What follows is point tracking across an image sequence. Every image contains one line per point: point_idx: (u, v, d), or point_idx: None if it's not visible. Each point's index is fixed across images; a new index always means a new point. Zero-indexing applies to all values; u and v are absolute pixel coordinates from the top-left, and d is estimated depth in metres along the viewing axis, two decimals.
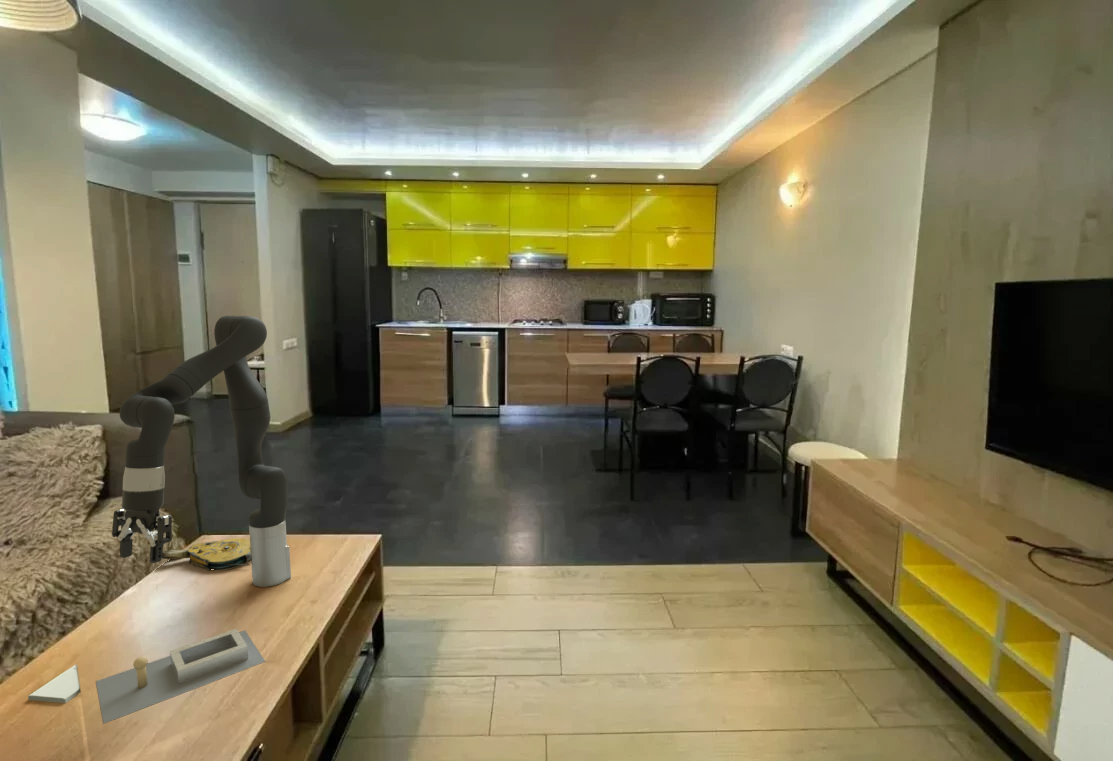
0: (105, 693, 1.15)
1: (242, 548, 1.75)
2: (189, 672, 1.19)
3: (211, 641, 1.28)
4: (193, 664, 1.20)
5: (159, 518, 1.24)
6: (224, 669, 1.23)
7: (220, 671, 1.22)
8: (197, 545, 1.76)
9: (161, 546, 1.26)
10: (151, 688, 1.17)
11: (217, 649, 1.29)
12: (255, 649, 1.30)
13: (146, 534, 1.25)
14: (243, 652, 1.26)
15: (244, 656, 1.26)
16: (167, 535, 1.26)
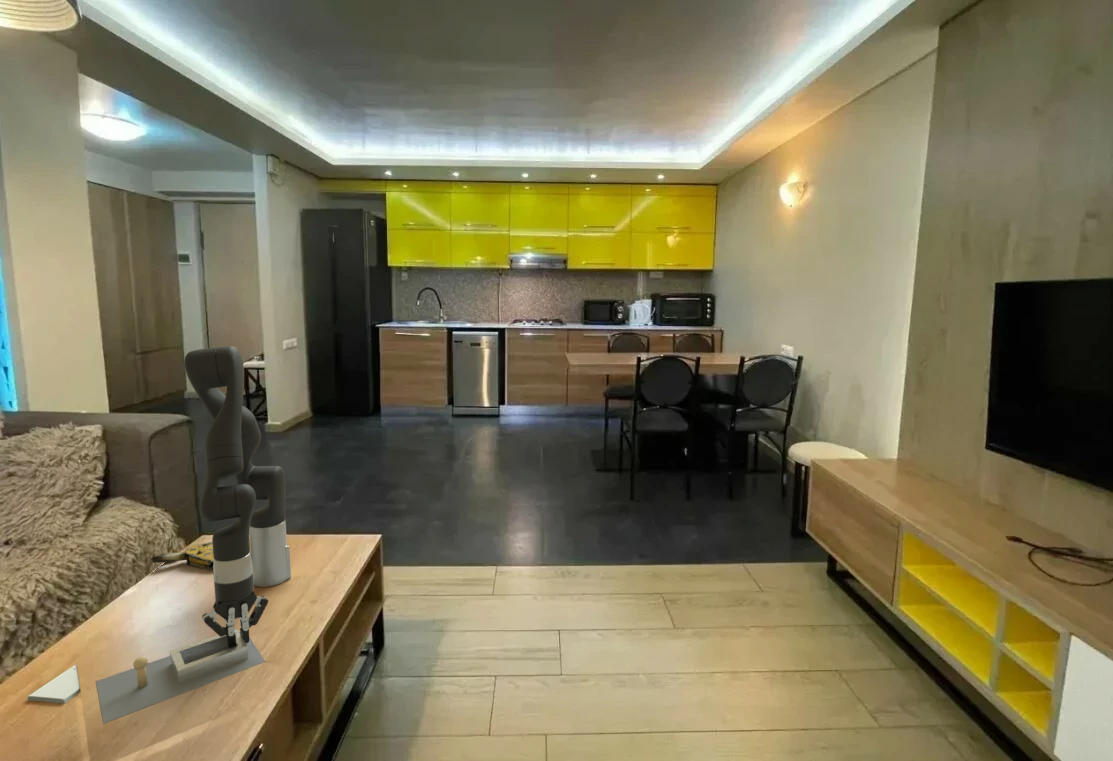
0: (105, 693, 1.15)
1: None
2: (189, 672, 1.19)
3: (211, 641, 1.28)
4: (193, 664, 1.20)
5: (266, 600, 1.31)
6: (224, 669, 1.23)
7: (220, 671, 1.22)
8: (194, 547, 1.75)
9: None
10: (151, 688, 1.17)
11: (217, 649, 1.29)
12: (255, 649, 1.30)
13: (246, 619, 1.28)
14: (243, 652, 1.26)
15: (244, 656, 1.26)
16: (253, 615, 1.31)
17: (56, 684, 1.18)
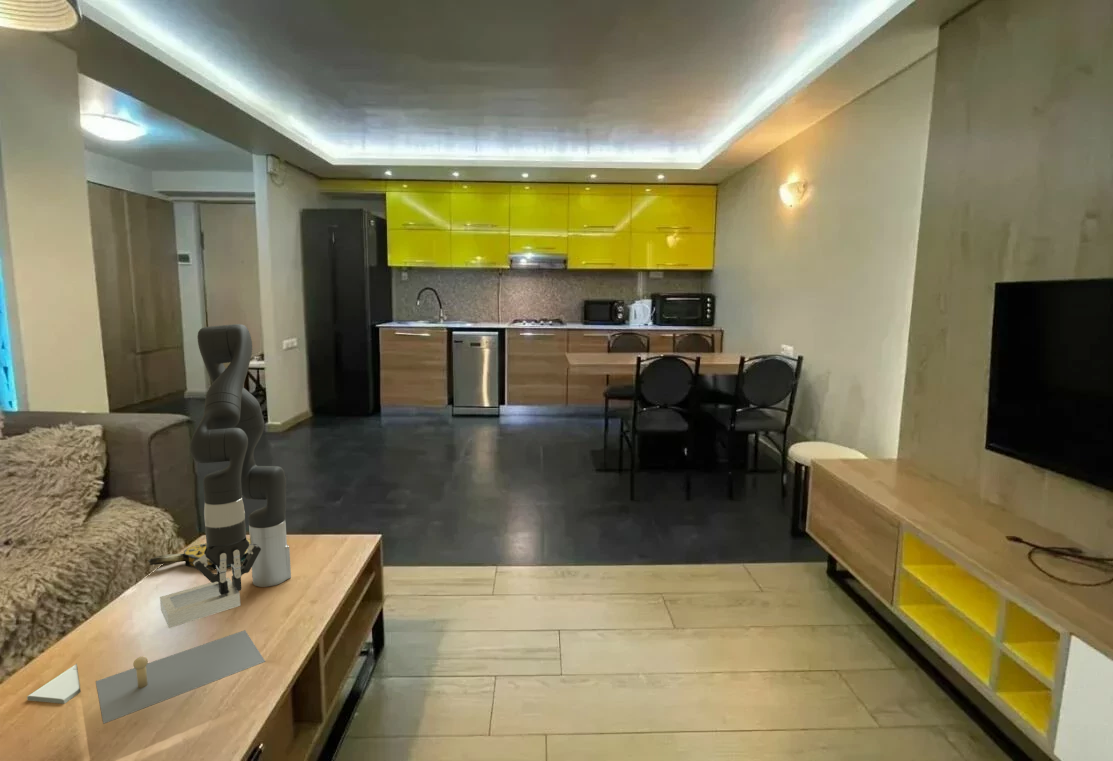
0: (105, 693, 1.15)
1: None
2: (179, 616, 1.17)
3: (202, 588, 1.26)
4: (184, 608, 1.17)
5: (259, 548, 1.29)
6: (224, 669, 1.23)
7: (220, 671, 1.22)
8: (192, 548, 1.74)
9: None
10: (151, 688, 1.17)
11: (208, 597, 1.27)
12: (255, 649, 1.30)
13: (238, 566, 1.26)
14: (235, 598, 1.23)
15: (236, 602, 1.24)
16: (245, 563, 1.29)
17: (56, 684, 1.18)
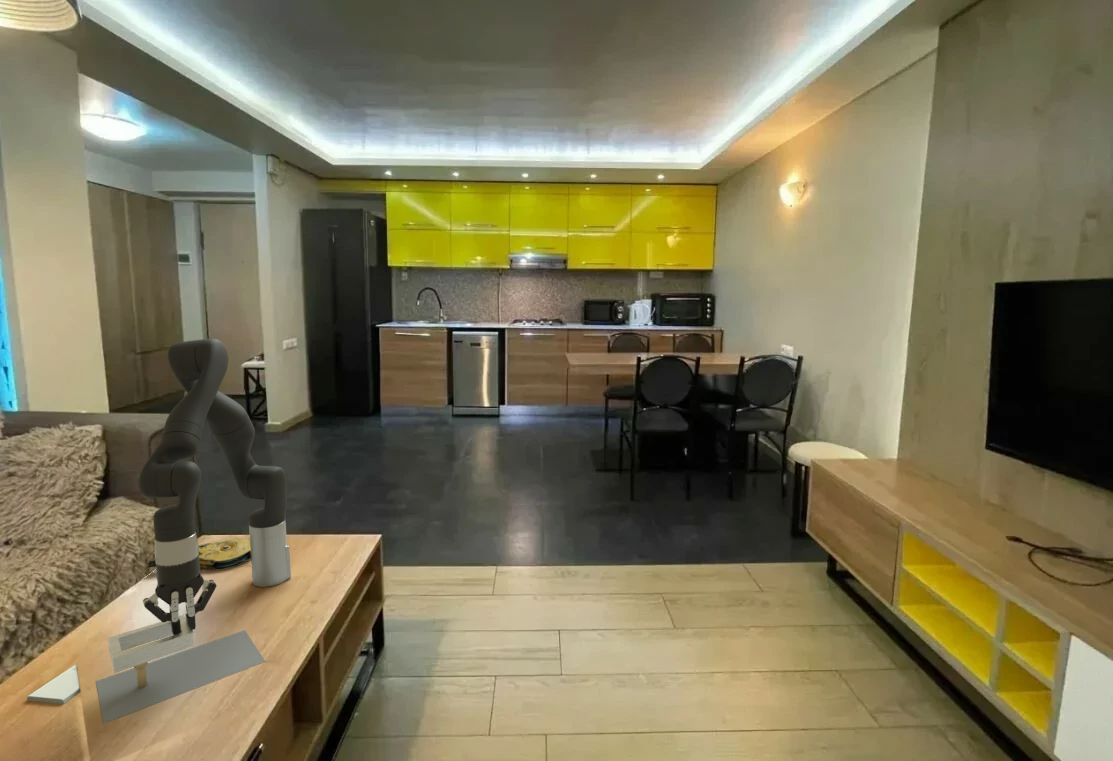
0: (105, 693, 1.15)
1: (243, 545, 1.77)
2: (126, 660, 1.11)
3: (154, 628, 1.20)
4: (131, 651, 1.12)
5: (214, 585, 1.23)
6: (224, 669, 1.23)
7: (220, 671, 1.22)
8: None
9: None
10: (151, 688, 1.17)
11: (161, 636, 1.21)
12: (255, 649, 1.30)
13: (191, 604, 1.20)
14: (187, 639, 1.18)
15: (188, 643, 1.18)
16: (200, 600, 1.24)
17: (55, 684, 1.18)
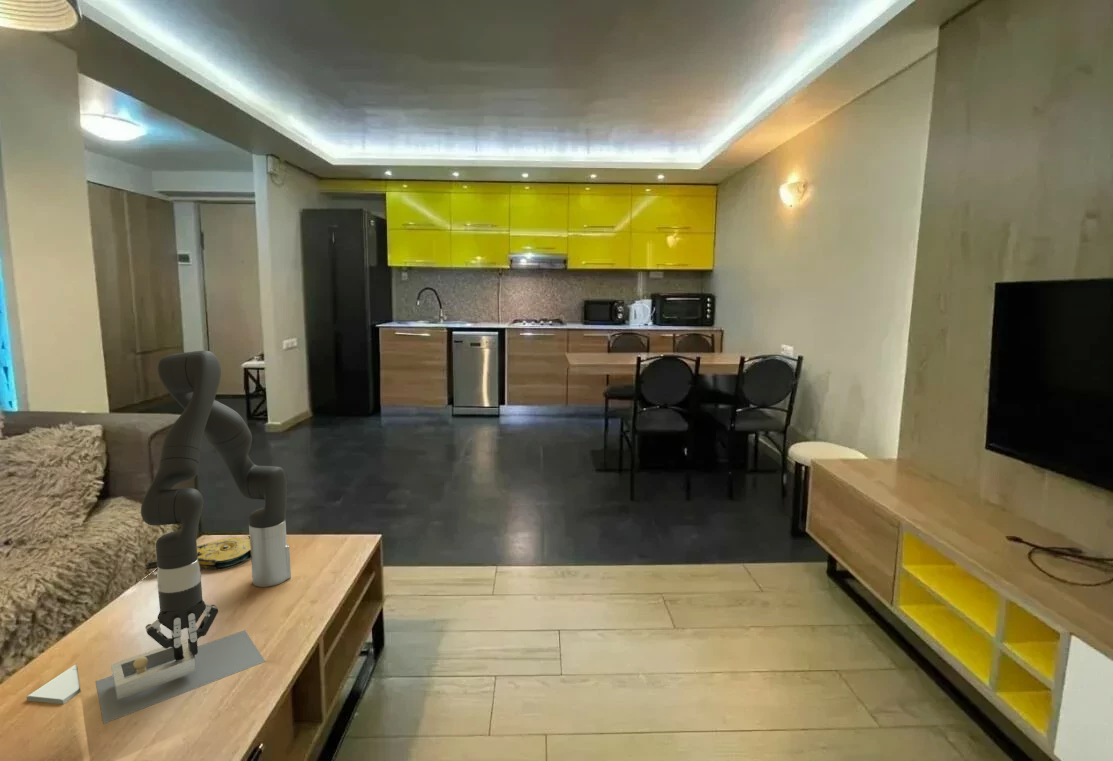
0: (105, 693, 1.15)
1: (243, 544, 1.78)
2: (129, 687, 1.12)
3: (156, 653, 1.21)
4: (134, 678, 1.13)
5: (216, 610, 1.24)
6: (224, 669, 1.23)
7: (220, 671, 1.22)
8: None
9: None
10: (151, 688, 1.17)
11: (163, 661, 1.22)
12: (255, 649, 1.30)
13: (194, 629, 1.21)
14: (189, 665, 1.19)
15: (191, 669, 1.19)
16: (202, 625, 1.25)
17: (55, 684, 1.18)
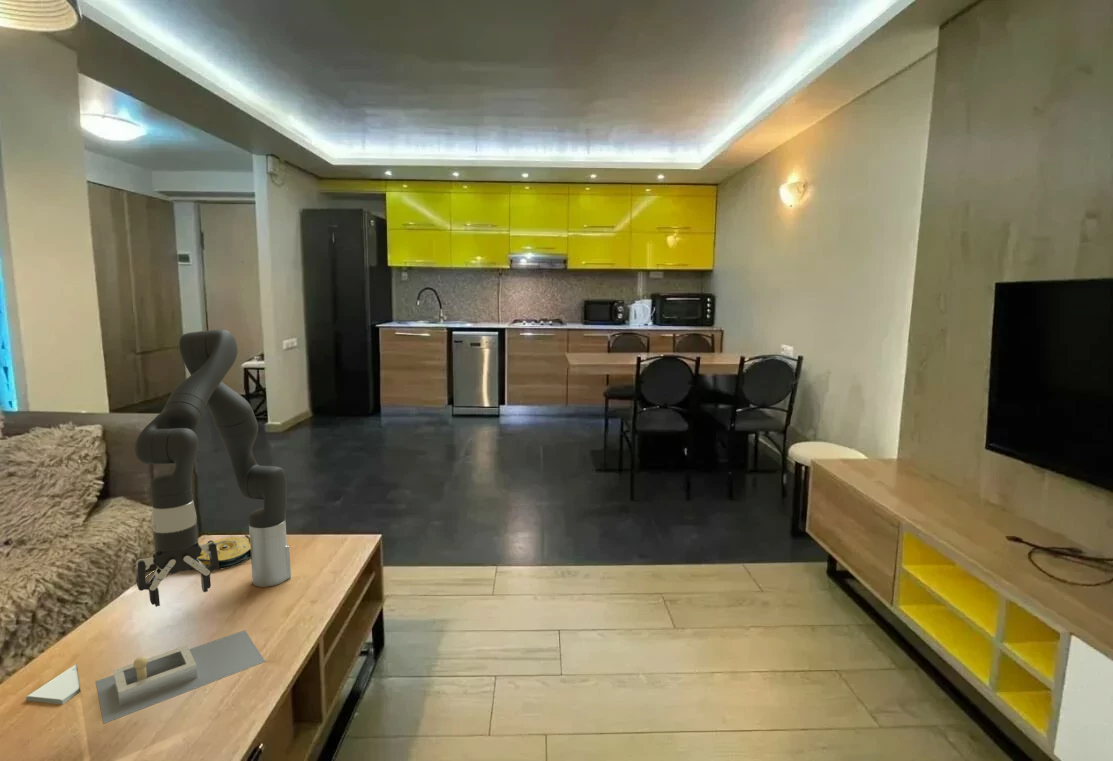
0: (105, 693, 1.15)
1: (242, 543, 1.78)
2: (131, 693, 1.13)
3: (158, 659, 1.22)
4: (136, 685, 1.13)
5: (213, 545, 1.22)
6: (224, 669, 1.23)
7: (220, 671, 1.22)
8: None
9: None
10: None
11: (165, 667, 1.23)
12: (255, 649, 1.30)
13: (199, 566, 1.21)
14: (191, 671, 1.19)
15: (192, 675, 1.20)
16: None
17: (55, 684, 1.18)
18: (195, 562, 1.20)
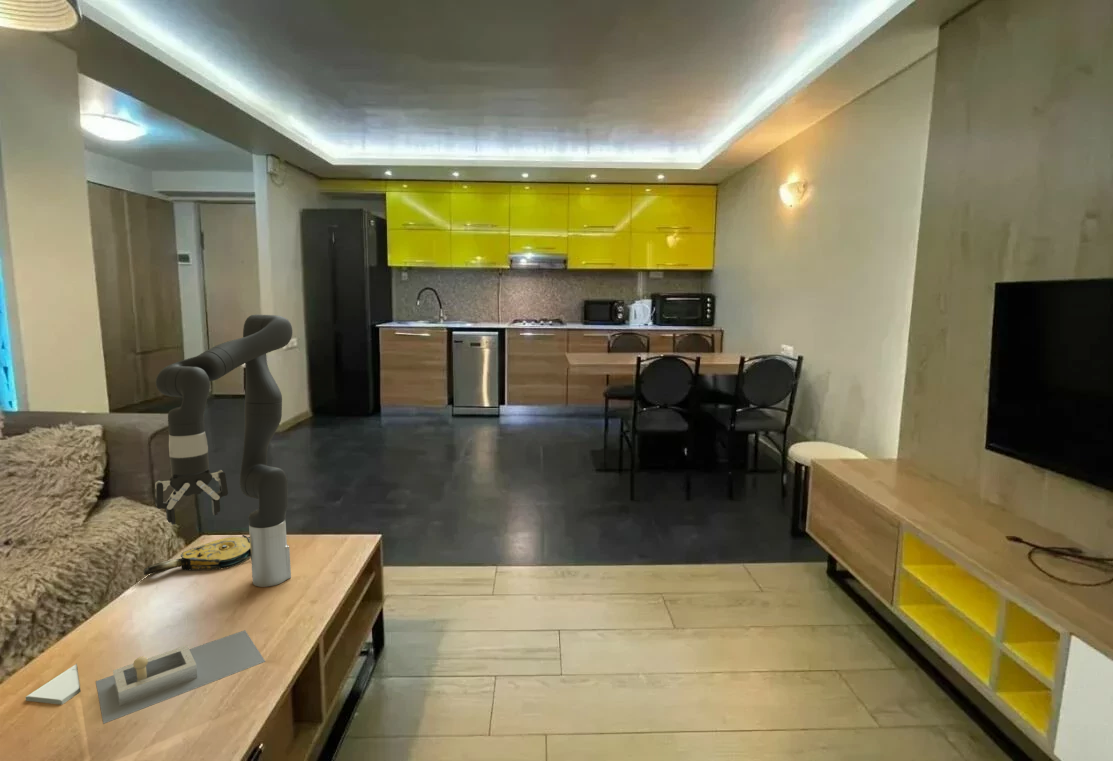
0: (105, 693, 1.15)
1: (241, 543, 1.79)
2: (131, 693, 1.13)
3: (158, 659, 1.22)
4: (136, 685, 1.13)
5: (222, 473, 1.37)
6: (224, 669, 1.23)
7: (220, 671, 1.22)
8: (187, 552, 1.71)
9: None
10: None
11: (165, 667, 1.23)
12: (255, 649, 1.30)
13: (210, 491, 1.36)
14: (191, 671, 1.19)
15: (192, 675, 1.20)
16: None
17: (54, 685, 1.18)
18: (206, 487, 1.35)
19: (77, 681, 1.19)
